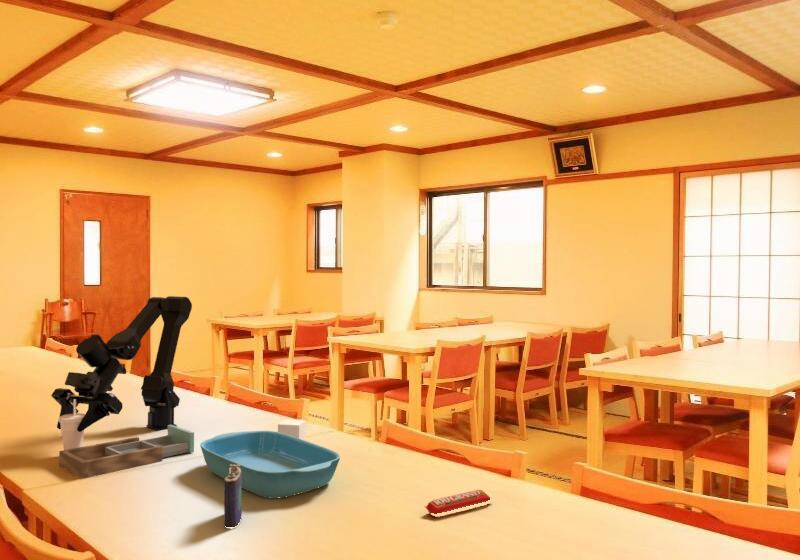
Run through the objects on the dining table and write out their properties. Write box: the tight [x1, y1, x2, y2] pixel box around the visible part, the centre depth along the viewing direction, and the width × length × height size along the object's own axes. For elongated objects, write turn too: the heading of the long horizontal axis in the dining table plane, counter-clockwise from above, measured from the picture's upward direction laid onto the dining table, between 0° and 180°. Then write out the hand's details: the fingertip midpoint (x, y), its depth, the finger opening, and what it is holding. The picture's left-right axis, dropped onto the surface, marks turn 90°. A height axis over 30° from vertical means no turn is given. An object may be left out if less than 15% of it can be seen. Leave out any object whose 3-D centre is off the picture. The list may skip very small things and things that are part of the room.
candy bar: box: [424, 489, 490, 514], centre depth 135 cm, size 16×4×3 cm, turn 125°
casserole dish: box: [199, 430, 341, 499], centre depth 153 cm, size 37×22×7 cm, turn 45°
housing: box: [58, 436, 163, 479], centre depth 161 cm, size 19×13×4 cm
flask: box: [223, 464, 242, 527], centre depth 127 cm, size 9×3×11 cm, turn 8°
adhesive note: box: [277, 418, 307, 441], centre depth 182 cm, size 6×6×6 cm
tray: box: [105, 425, 195, 459], centre depth 168 cm, size 18×12×5 cm, turn 138°
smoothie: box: [58, 399, 86, 450], centre depth 166 cm, size 6×6×14 cm
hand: (68, 429), depth 165 cm, fingers closed on smoothie, 6 cm apart
